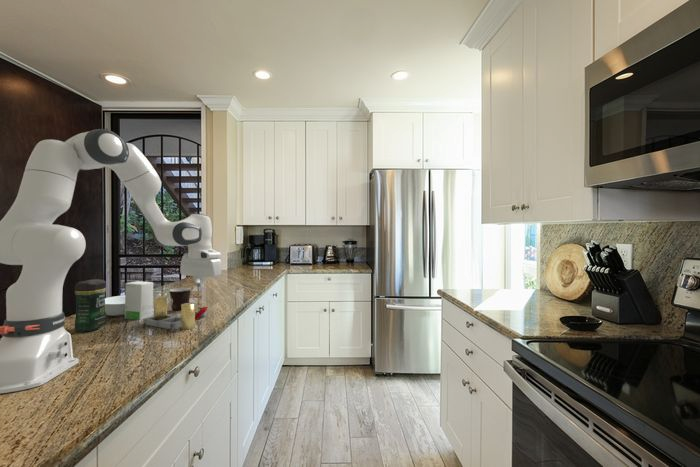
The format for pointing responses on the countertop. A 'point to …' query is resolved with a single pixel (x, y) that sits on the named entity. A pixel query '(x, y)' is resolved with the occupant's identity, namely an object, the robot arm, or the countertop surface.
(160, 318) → the billet
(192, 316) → the billet
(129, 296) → the skincare box
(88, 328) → the coffee jar
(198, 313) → the strawberry
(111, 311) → the serving bowl
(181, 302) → the coffee mug
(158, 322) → the grey tray
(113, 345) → the countertop surface
